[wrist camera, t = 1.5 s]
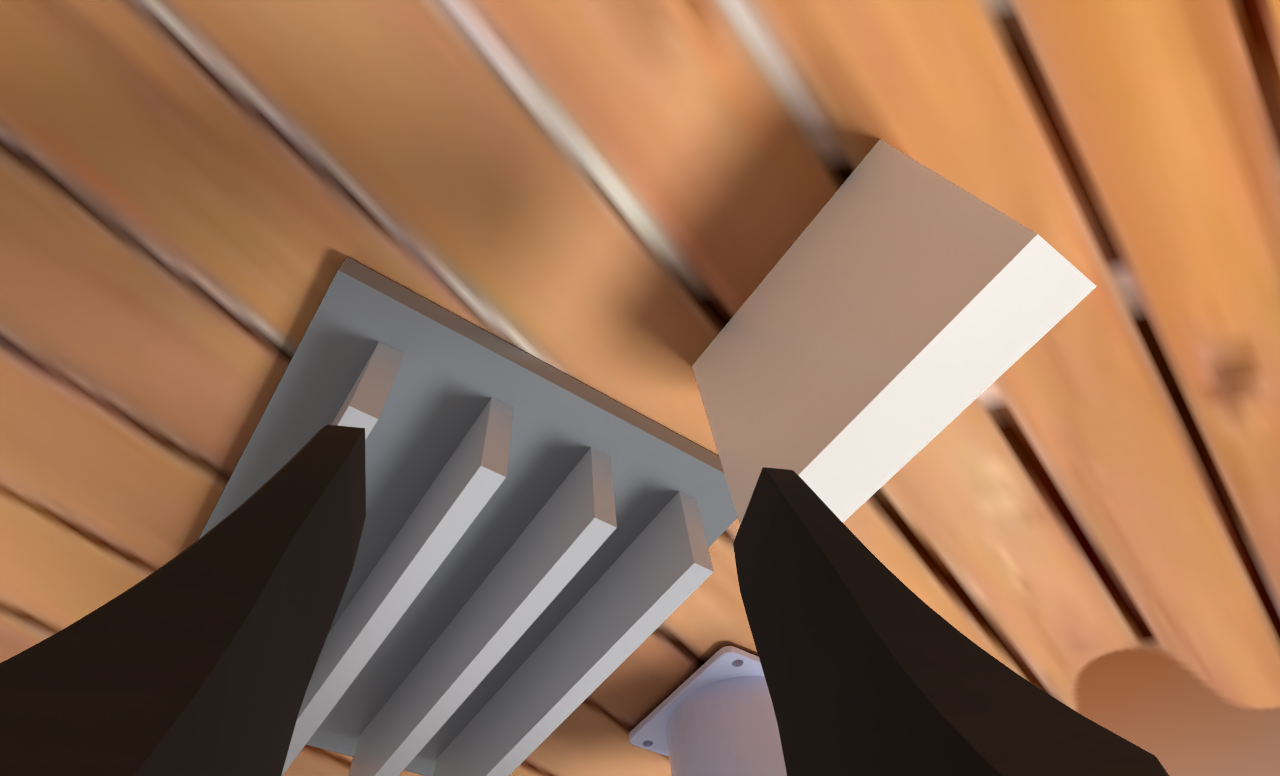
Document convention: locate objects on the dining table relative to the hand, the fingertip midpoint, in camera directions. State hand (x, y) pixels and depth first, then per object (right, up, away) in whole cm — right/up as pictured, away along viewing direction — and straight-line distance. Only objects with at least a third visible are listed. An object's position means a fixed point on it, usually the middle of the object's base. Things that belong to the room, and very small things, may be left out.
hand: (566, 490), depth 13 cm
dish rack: (-7, -6, +15) cm, 18 cm away
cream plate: (+6, +5, +10) cm, 13 cm away
